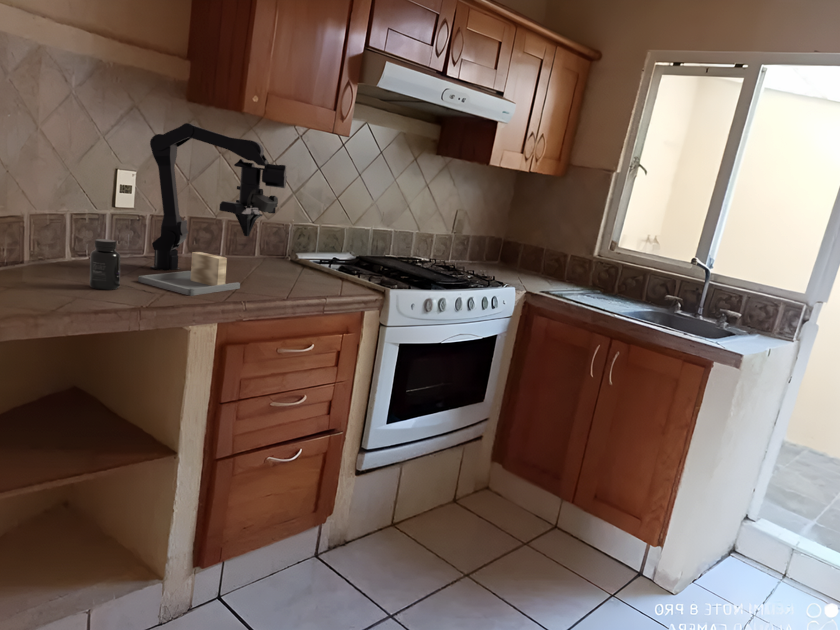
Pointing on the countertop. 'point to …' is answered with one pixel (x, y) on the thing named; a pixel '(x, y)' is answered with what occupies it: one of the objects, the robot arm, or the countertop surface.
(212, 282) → the wooden block
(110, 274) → the supplement bottle
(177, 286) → the mat
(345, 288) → the countertop surface
